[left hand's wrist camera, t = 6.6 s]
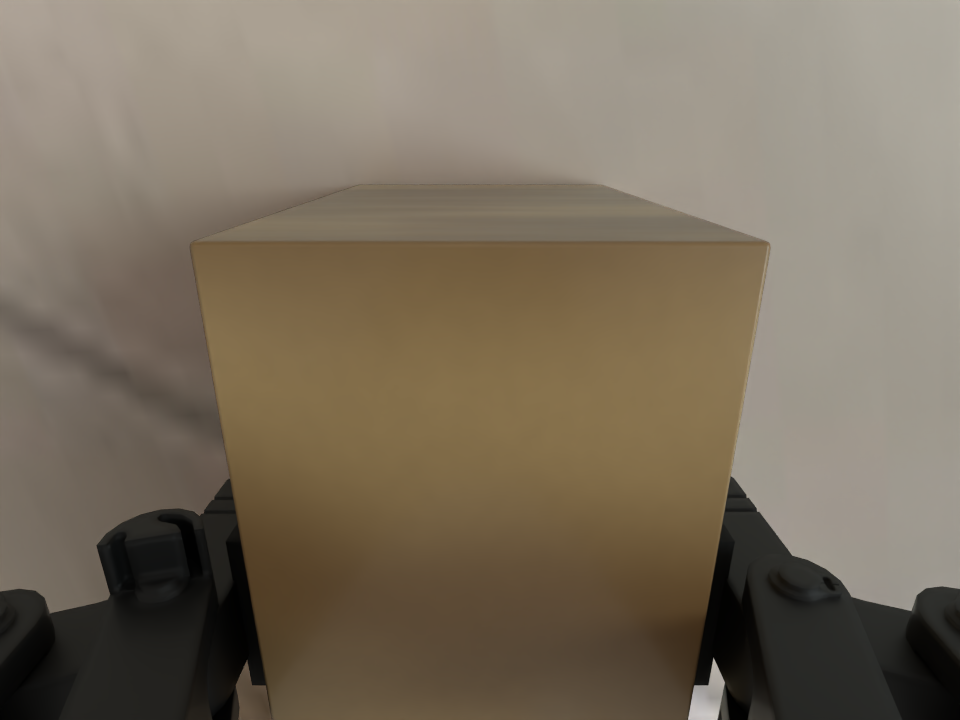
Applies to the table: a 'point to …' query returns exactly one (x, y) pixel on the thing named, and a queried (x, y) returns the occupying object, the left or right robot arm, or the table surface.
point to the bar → (480, 445)
